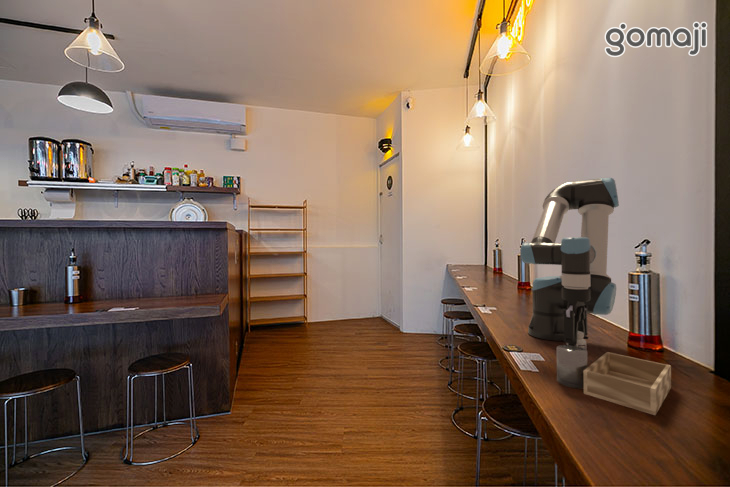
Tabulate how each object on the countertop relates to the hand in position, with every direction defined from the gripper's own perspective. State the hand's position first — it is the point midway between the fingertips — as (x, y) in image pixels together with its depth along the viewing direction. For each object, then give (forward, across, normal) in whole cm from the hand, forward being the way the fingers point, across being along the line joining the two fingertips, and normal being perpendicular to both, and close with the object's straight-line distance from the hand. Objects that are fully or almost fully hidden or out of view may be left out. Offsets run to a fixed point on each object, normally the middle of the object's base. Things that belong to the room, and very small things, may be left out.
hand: (576, 361), depth 102 cm
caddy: (0, +11, +15) cm, 19 cm away
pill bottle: (+1, 0, 0) cm, 1 cm away
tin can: (0, +16, +4) cm, 16 cm away
